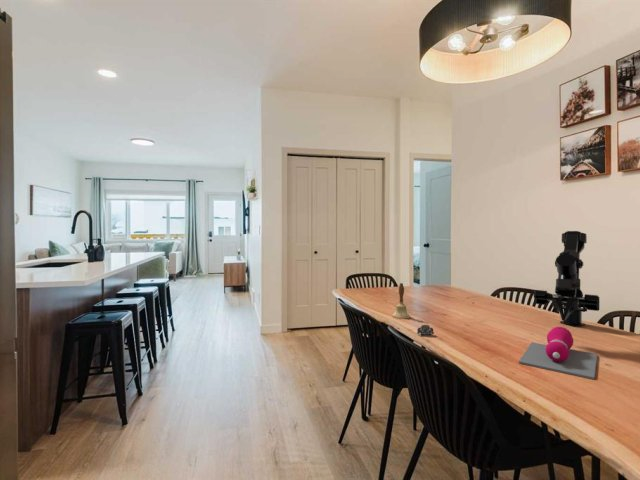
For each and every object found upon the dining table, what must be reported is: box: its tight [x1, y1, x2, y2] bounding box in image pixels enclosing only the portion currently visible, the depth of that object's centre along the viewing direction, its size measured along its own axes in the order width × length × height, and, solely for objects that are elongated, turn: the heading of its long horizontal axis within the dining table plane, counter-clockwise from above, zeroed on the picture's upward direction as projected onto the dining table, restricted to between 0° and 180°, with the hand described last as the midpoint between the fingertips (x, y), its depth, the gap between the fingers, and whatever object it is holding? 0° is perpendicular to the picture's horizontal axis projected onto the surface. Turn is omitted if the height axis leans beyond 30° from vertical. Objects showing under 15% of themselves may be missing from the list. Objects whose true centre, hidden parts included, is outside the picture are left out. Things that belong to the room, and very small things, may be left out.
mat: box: [518, 341, 598, 380], centre depth 107 cm, size 22×18×1 cm
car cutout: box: [416, 324, 435, 336], centre depth 132 cm, size 15×7×4 cm, turn 86°
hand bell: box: [392, 282, 411, 319], centre depth 161 cm, size 8×8×16 cm
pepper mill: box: [545, 326, 574, 362], centre depth 108 cm, size 7×7×20 cm
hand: (563, 320), depth 116 cm, fingers closed
